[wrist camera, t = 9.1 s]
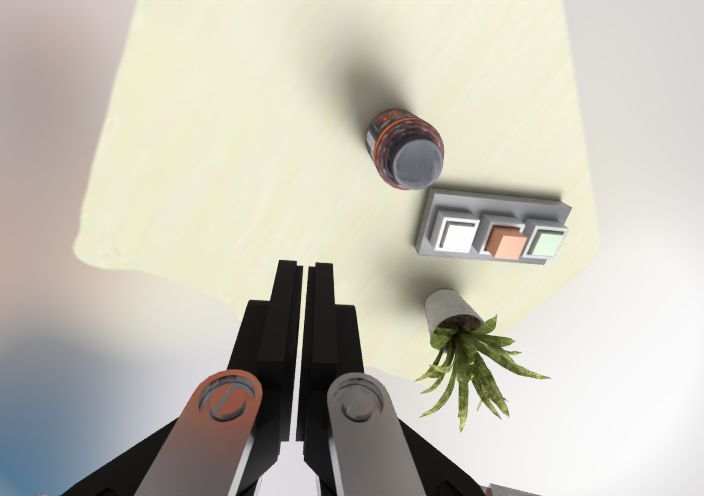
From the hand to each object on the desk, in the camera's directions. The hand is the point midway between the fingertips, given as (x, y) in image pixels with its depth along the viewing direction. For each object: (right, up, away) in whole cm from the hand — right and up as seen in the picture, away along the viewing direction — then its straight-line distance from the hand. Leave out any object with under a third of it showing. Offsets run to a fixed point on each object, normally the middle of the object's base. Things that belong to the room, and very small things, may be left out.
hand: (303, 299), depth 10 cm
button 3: (+24, +3, +29) cm, 38 cm away
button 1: (+13, +4, +28) cm, 31 cm away
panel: (+19, +5, +30) cm, 36 cm away
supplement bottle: (+6, +14, +24) cm, 28 cm away
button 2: (+19, +3, +27) cm, 33 cm away
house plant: (+13, -6, +36) cm, 39 cm away
